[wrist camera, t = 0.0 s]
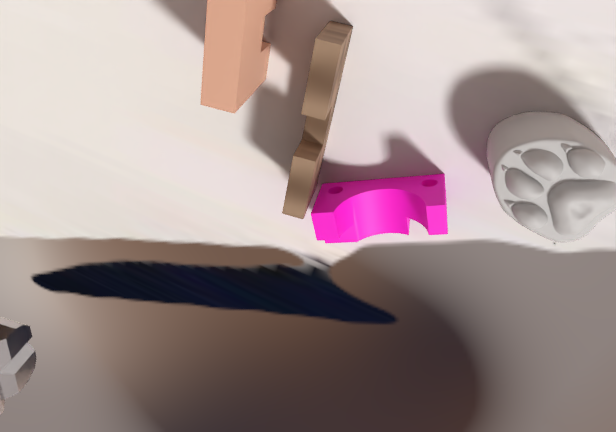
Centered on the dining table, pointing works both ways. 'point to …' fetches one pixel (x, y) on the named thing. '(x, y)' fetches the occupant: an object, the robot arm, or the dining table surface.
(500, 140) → the lumpy-topped squat cylinder
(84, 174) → the dining table surface
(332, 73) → the walnut rail
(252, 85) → the tan notched block
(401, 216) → the toy block
